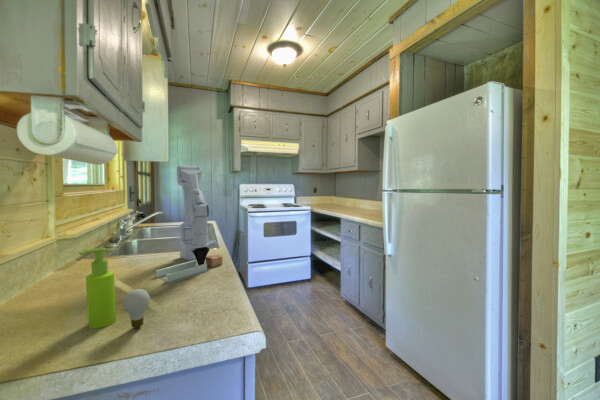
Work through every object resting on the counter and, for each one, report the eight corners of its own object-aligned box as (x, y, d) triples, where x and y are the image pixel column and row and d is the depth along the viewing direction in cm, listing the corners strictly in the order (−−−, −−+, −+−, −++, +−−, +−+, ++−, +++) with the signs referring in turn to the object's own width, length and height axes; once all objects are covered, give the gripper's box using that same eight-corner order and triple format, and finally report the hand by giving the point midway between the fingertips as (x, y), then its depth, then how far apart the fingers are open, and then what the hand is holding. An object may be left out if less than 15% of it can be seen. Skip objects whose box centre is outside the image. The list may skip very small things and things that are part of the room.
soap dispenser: (81, 324, 70) (77, 249, 68) (113, 314, 75) (109, 244, 73) (85, 333, 66) (81, 253, 64) (118, 322, 71) (115, 248, 69)
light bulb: (122, 336, 64) (120, 296, 64) (125, 324, 70) (123, 287, 69) (150, 330, 67) (148, 292, 66) (151, 319, 72) (149, 283, 72)
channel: (154, 279, 101) (153, 269, 100) (192, 268, 113) (192, 259, 113) (170, 287, 94) (170, 276, 93) (209, 274, 106) (209, 264, 106)
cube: (205, 256, 114) (215, 254, 118) (205, 268, 114) (216, 265, 118) (211, 259, 111) (222, 256, 115) (212, 270, 111) (222, 267, 115)
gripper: (189, 237, 100) (190, 272, 102) (221, 231, 112) (221, 263, 113) (179, 235, 105) (180, 268, 106) (211, 229, 116) (211, 260, 117)
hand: (200, 265), depth 110 cm, fingers closed
